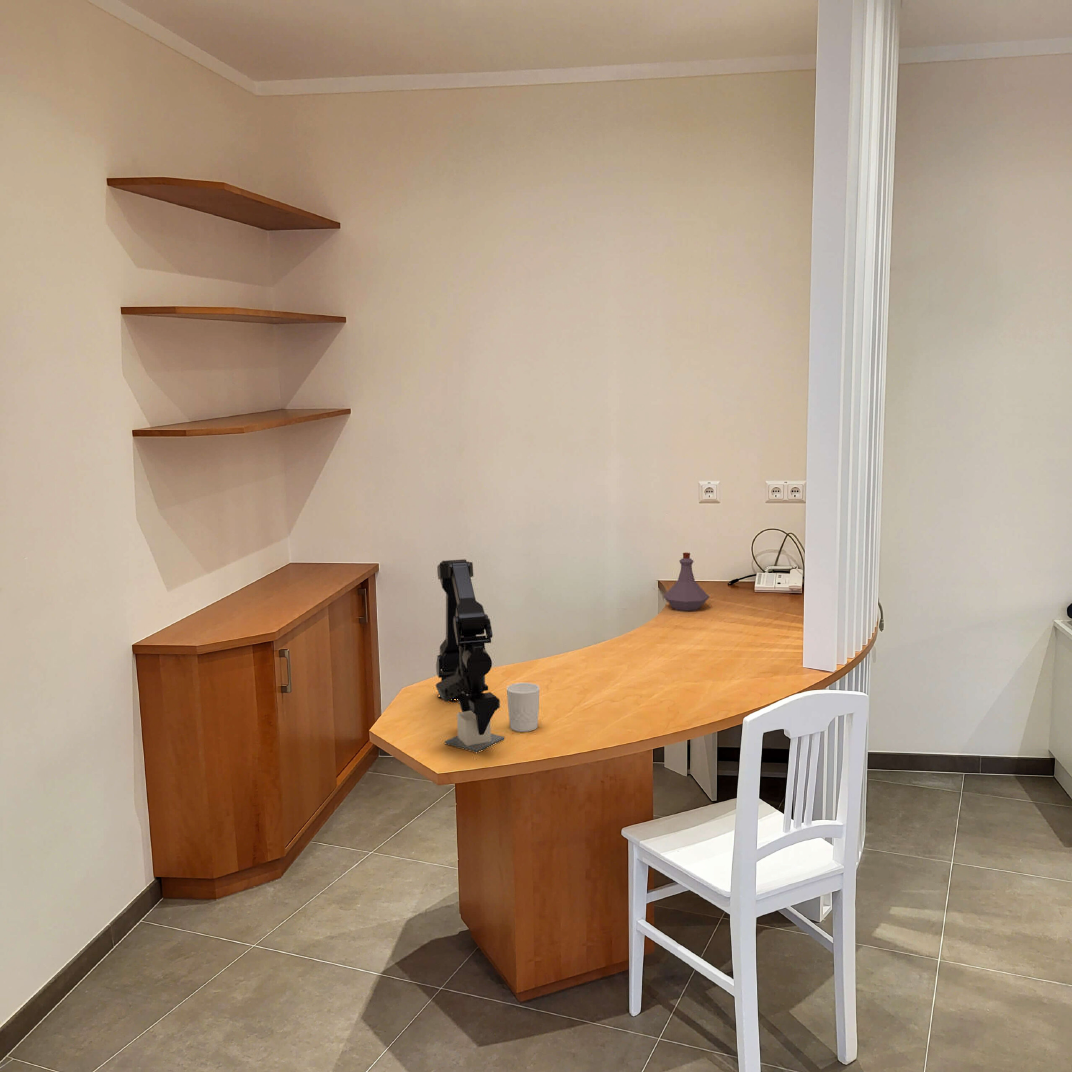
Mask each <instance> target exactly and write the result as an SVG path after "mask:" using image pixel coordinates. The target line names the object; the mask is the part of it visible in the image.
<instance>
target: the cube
mask: <svg viewBox="0 0 1072 1072" xmlns="http://www.w3.org/2000/svg"><path fill="white" fill-rule="evenodd" d="M456 721H457V723H456V724H457V728H456V729H457V735H458V738H459V739H460V740H461V741H462V742H463V743H464V744H465V745H466V746H469V745H474V744H480V743H485V742H491V734H492V731H491V729H492V727H491V721H490V722H489V724H488V726H487V728H486V730H485V733H484V734H483V735H479V733H478V728H477V722H476V716H475V714H474V713H473V712H472V711H466V712H462V711H461V712H456Z"/></svg>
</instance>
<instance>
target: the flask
mask: <svg viewBox="0 0 1072 1072" xmlns="http://www.w3.org/2000/svg"><path fill="white" fill-rule="evenodd" d="M690 557H691V552H683V553H682V558H681V559H680V560H679V563H680V572H679V575H678V578H677V580H676V581H675V582H674V584H673V585H672V586H671V587H670V588H669V589H668V591H666V593H664V594H663V596H662V597H663V598H664V600H666V601H667V602H668V604H669V605H670V606H671V608H672V609H674V610H676V611H680V612H694V611H695V612H696V611H697V610H699V609H701V607H702V606H703V605H704V604H705V603H706V601H707V600H708V599H710V596H709V594H708V593H707V592H705V590H704V589H703V588H701V586H700V585H699V584H698V582H697V581H696V578H695V576H694V573H693V567H692V565H693V563H694V560H693V559H692V558H690Z"/></svg>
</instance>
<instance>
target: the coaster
mask: <svg viewBox="0 0 1072 1072" xmlns="http://www.w3.org/2000/svg"><path fill="white" fill-rule="evenodd" d="M504 739H506V738H505V736H502V735H499V734H494V733H491V742H485V743H480V744H474V745H469V746H466V745H465V744H464V743H463V742H462V741H461V740H460V739H459V738H458V734H457V735H455V736H454V737H451V738H449V739H447V740H444V743H446V744H449V745H453V746H456V747H455V748H457V747H459V748H458V749H460V748H464V749H467V750H466V751H468V750H471V751H470V752H472V751H474V752H473V753H475V752H477V753H476V754H479V753H480V752H479V751H481V750H483V751H485V750H487V749H488V748H487V747H489V746H491V745H493V744H495V743H497V744H499V743H500V742H499V741H501V740H503V741H504ZM498 742H499V743H498ZM501 742H502V741H501ZM444 743H443V744H444ZM446 744H445V745H446ZM449 745H448V746H449ZM495 745H496V744H495ZM453 746H452V747H453ZM493 746H494V745H493ZM491 747H492V746H491ZM486 748H487V749H486ZM489 748H490V747H489ZM464 749H463V750H464ZM484 749H485V750H484ZM478 752H479V753H478ZM481 752H482V751H481Z"/></svg>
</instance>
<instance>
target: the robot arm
mask: <svg viewBox="0 0 1072 1072" xmlns="http://www.w3.org/2000/svg"><path fill="white" fill-rule="evenodd" d="M436 567H437V570H436V571H437V573H436V574H437V578H438V580H439V581H440V585H441V588H442V590H443V591H444V592H445V639H444V640H443V641H442V643H441V644H440V646H439V654H438V655H436V662H435V663H436V664H435V670H436V674H437V675H436V676H437V677H438V678H439V679H441V680H440V681H438V682H437V683H436V684H435V687H436V690H437V692H438V695H440V697H441V698H440V699H442V700H443V701H444V702H448V701H451V699H452V700H454V699H456V700H457V699H458V701H457V702H458V704H459V708H460V710H461V712H466V711H472V712H473V713H474V714H475V716H476V722H477V728H478V733H479V735H483V734H484V733H485V730H486V728H487V726H488V724H489V722H490V723H491V720H492V718H493V715H494V714H495V712H496V711H498V709H500V708H501V705H500V704H501V703H500V702H501V701H500V698H499V697H497V696H496V695H495V694H493V693H492V692H491V691H489V685H487V684H486V675H487V674H488V673H489V672H490V671H491V670H492V666H493V661H492V658H491V656H490V654H489V652H487V650H486V647H485V646H486V645H485V644H492V638H493V635H494V634H493V630H492V624H491V623H492V622H491V619H490V618H489V615H488V614H486V613H485V610H484V606H483V605H482V603H479V602H478V601H477V600H476V595H475V592H474V591H475V590H474V588H473V587H474V585H473V583H472V579H471V578H474V562H472V561H467V559H466V558H464V559H452V560H451V559H448V560H442V561H441V562H439V564H438V565H437V566H436ZM485 691H489V692H485Z"/></svg>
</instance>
